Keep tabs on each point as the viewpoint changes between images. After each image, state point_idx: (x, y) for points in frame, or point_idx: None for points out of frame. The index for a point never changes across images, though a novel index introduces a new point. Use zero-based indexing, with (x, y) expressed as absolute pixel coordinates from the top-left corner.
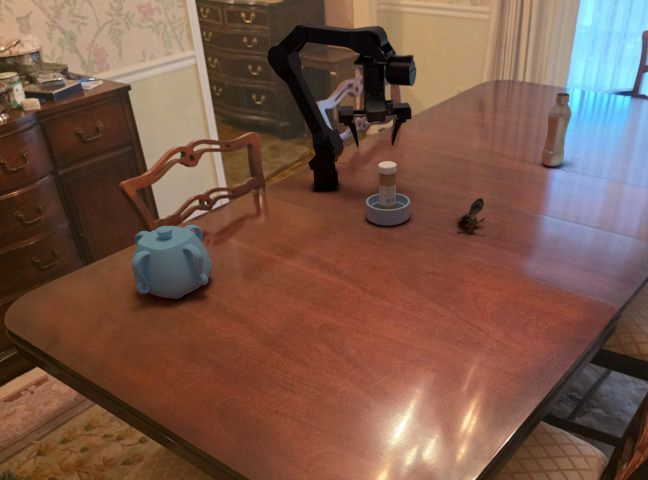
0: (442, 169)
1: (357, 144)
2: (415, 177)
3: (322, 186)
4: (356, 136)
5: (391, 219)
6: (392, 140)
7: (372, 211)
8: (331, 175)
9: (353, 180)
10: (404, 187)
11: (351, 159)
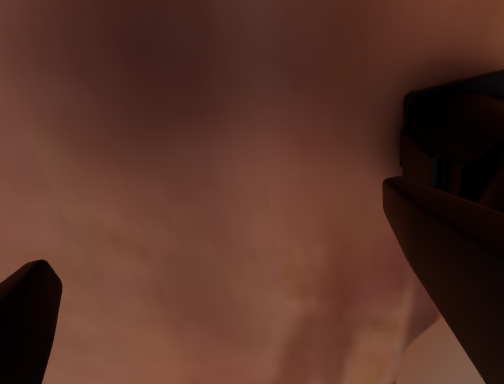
0: None
1: (411, 186)
2: (88, 265)
3: (481, 91)
4: (486, 234)
5: None
6: (1, 294)
7: None
8: (462, 131)
9: (331, 208)
10: (98, 170)
11: (347, 351)
